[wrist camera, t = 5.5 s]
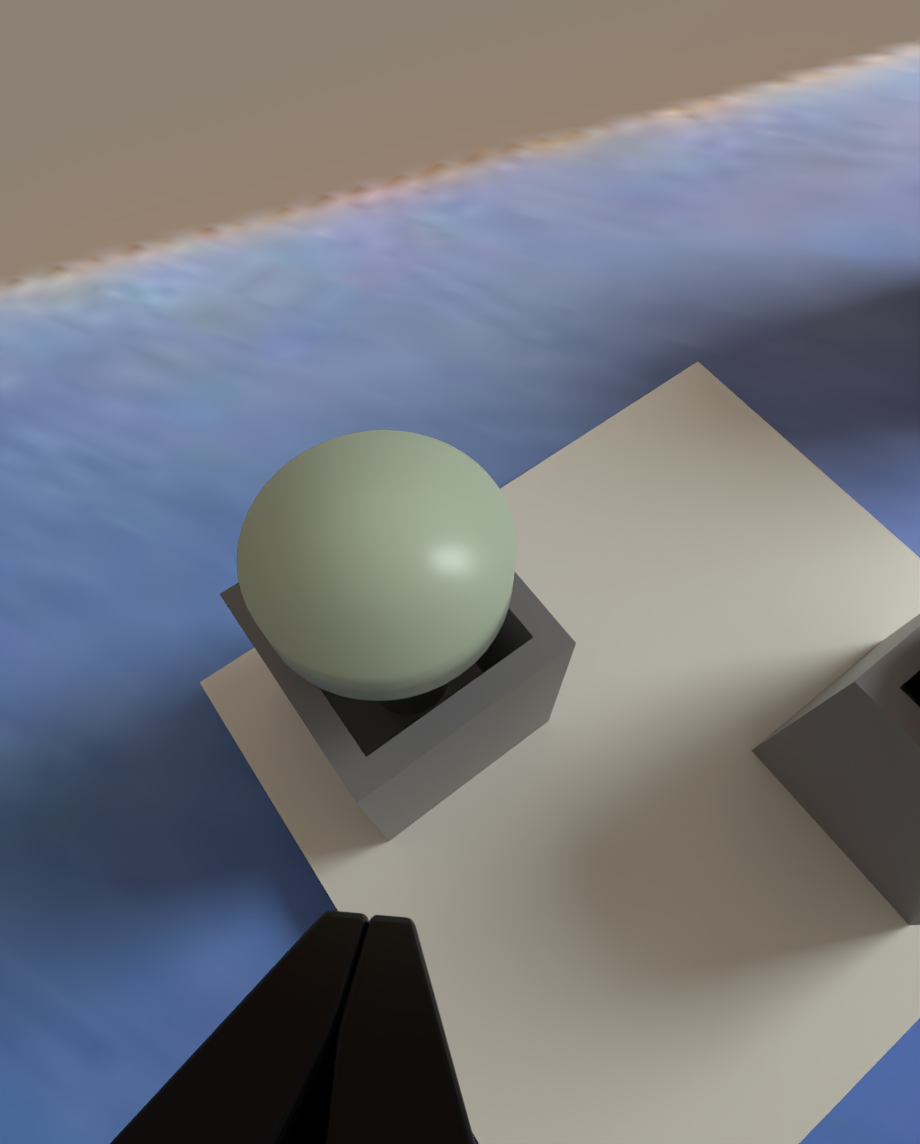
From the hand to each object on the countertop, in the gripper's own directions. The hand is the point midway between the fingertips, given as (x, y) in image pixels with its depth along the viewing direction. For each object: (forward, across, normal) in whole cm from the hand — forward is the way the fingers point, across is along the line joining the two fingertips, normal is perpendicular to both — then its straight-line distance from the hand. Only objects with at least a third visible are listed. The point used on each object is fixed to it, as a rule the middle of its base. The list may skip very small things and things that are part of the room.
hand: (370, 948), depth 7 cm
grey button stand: (+14, -6, +5) cm, 16 cm away
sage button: (+11, +1, +3) cm, 12 cm away
